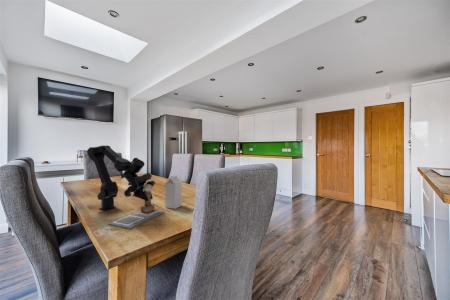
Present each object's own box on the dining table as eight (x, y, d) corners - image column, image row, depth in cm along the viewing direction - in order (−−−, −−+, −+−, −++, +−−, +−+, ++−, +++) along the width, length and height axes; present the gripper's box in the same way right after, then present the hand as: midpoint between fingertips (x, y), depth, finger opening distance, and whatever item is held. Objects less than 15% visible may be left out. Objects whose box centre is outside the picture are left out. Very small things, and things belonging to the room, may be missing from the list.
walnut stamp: (140, 211, 101) (140, 184, 101) (149, 208, 105) (149, 182, 105) (146, 213, 98) (146, 185, 98) (154, 210, 102) (154, 183, 102)
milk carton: (181, 205, 118) (181, 175, 118) (175, 209, 111) (175, 177, 111) (172, 204, 120) (172, 175, 120) (165, 207, 113) (165, 176, 113)
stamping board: (107, 224, 88) (107, 220, 88) (144, 209, 110) (144, 206, 110) (130, 229, 83) (130, 225, 83) (164, 212, 105) (164, 209, 105)
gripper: (128, 170, 94) (147, 193, 91) (152, 167, 112) (168, 186, 109) (116, 185, 96) (134, 208, 93) (141, 179, 114) (157, 198, 111)
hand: (150, 199), depth 101 cm, fingers closed on walnut stamp, 3 cm apart
